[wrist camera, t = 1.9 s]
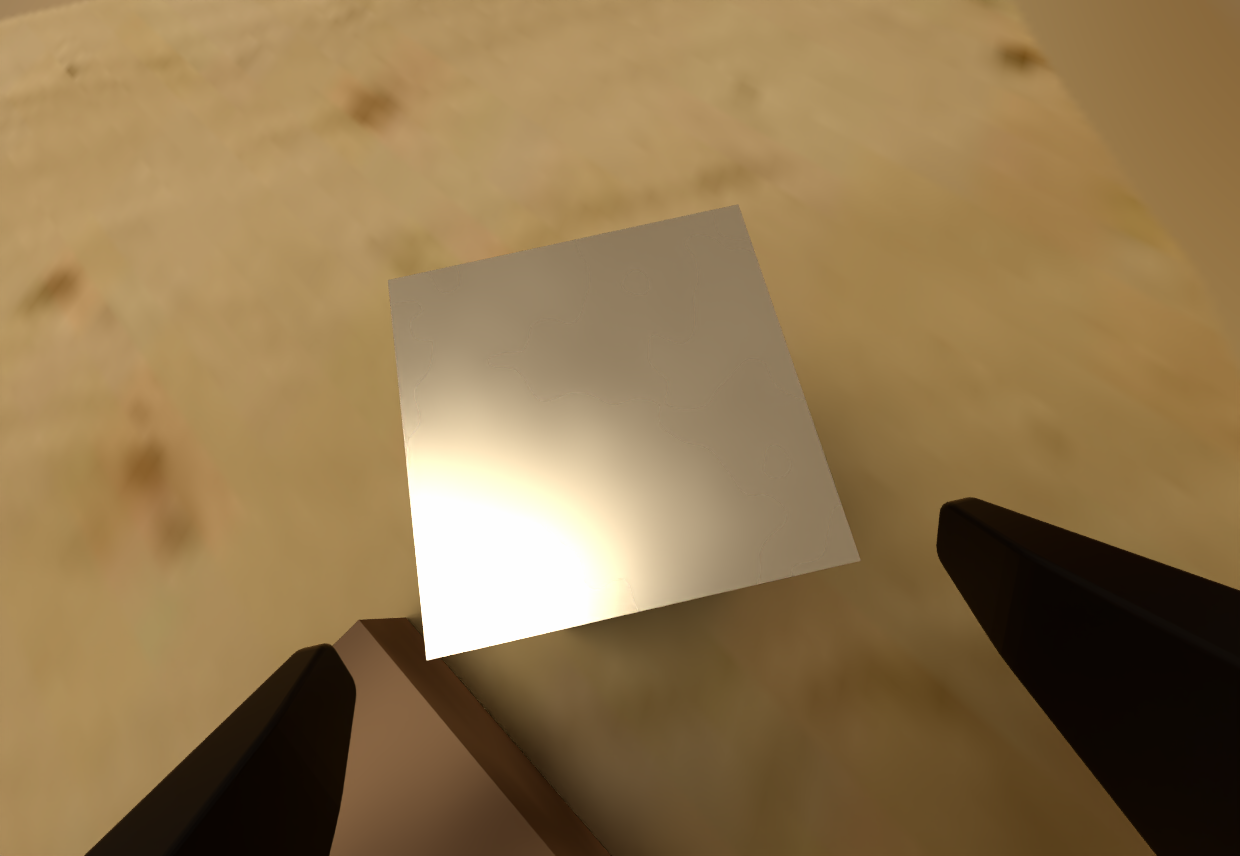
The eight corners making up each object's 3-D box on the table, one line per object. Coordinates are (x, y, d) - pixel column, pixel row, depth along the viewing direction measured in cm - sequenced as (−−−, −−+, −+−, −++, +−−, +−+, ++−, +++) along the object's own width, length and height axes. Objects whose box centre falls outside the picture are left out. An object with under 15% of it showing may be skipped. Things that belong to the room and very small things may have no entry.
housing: (733, 587, 17) (861, 560, 7) (560, 627, 17) (426, 659, 7) (689, 424, 19) (738, 204, 9) (531, 459, 19) (387, 280, 9)
